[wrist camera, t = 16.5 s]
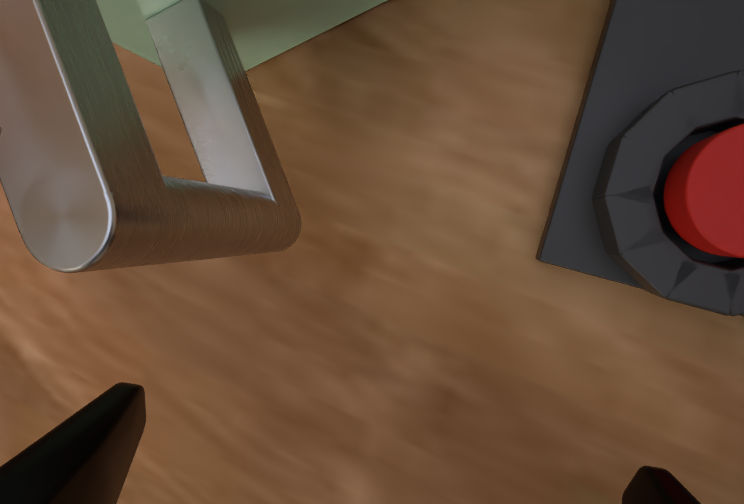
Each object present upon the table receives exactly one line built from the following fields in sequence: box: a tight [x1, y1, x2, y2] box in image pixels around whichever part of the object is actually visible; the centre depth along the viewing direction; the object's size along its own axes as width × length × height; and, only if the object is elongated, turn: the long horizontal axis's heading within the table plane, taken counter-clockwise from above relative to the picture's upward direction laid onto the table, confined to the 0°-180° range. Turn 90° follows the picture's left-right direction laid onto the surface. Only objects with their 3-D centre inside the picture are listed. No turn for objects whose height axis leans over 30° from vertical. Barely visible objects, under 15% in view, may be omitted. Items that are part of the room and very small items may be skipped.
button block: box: [536, 0, 744, 316], centre depth 15 cm, size 10×8×3 cm
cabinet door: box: [0, 0, 387, 273], centre depth 12 cm, size 8×15×12 cm, turn 112°
